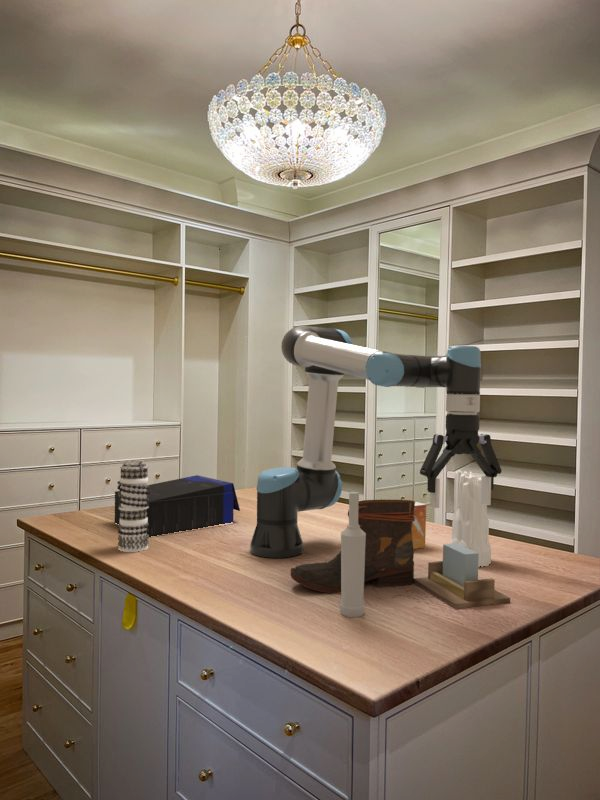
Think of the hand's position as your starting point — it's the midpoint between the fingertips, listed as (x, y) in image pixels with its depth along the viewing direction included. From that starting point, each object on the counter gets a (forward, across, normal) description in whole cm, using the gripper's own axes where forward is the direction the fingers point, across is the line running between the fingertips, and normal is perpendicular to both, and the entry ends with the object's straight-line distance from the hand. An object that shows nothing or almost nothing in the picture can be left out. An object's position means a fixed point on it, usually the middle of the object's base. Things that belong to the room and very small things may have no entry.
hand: (460, 505), depth 137 cm
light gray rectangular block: (+19, 0, 0) cm, 19 cm away
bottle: (+20, -29, -5) cm, 36 cm away
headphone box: (+21, -54, +88) cm, 105 cm away
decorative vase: (+20, +17, +21) cm, 34 cm away
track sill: (+20, 0, 0) cm, 20 cm away
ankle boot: (+20, -21, +12) cm, 32 cm away
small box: (+20, +8, +39) cm, 45 cm away
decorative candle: (+21, -70, +59) cm, 94 cm away
